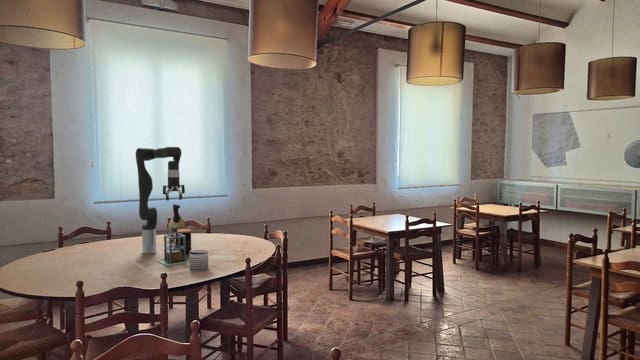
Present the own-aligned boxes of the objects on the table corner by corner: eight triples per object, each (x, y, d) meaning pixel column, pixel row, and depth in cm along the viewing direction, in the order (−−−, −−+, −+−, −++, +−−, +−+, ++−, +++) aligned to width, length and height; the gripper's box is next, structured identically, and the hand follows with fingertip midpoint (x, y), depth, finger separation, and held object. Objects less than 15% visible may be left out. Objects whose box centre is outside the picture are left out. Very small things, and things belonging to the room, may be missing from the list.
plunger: (168, 251, 285) (167, 227, 284) (178, 250, 289) (177, 225, 288) (171, 253, 279) (171, 228, 278) (182, 252, 284) (181, 227, 283)
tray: (157, 262, 285) (157, 259, 285) (183, 258, 297) (183, 255, 296) (165, 267, 273) (165, 264, 273) (193, 263, 284) (193, 260, 284)
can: (185, 269, 269) (185, 250, 268) (201, 265, 278) (201, 247, 277) (196, 273, 262) (196, 253, 261) (212, 269, 271) (212, 250, 270)
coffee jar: (186, 257, 298) (186, 231, 297) (172, 256, 300) (172, 231, 299) (194, 254, 309) (193, 229, 308) (180, 253, 311) (180, 228, 310)
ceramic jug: (170, 238, 363) (169, 202, 361) (188, 237, 365) (188, 202, 363) (165, 242, 346) (164, 205, 344) (184, 242, 348) (184, 205, 346)
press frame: (163, 260, 285) (163, 235, 284) (180, 258, 292) (179, 233, 291) (169, 264, 277) (169, 237, 276) (186, 261, 284) (186, 235, 283)
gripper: (181, 175, 299) (182, 199, 300) (161, 176, 290) (161, 200, 291) (186, 176, 293) (186, 200, 294) (165, 177, 284) (165, 201, 285)
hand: (174, 200), depth 293 cm, fingers open, 8 cm apart
